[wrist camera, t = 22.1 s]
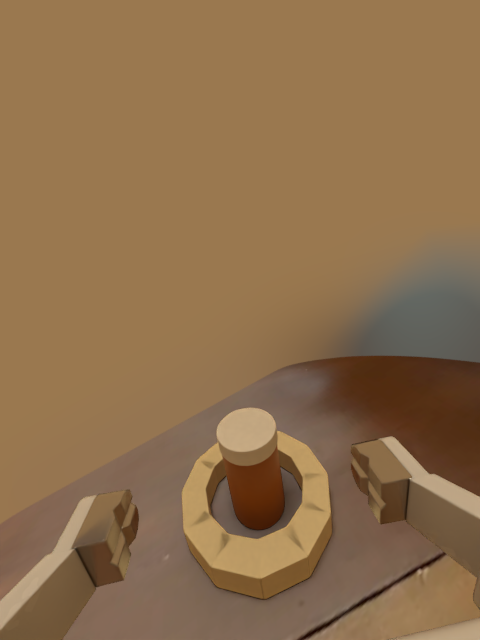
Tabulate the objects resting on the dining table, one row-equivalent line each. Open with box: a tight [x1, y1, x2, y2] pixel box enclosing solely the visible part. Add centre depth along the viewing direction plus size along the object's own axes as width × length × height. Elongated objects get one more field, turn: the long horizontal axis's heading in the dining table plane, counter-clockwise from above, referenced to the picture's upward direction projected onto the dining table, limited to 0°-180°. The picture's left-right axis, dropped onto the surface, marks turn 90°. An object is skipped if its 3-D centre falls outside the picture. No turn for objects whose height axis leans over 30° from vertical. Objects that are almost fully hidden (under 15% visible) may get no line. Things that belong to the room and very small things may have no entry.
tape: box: [182, 431, 332, 599], centre depth 24 cm, size 14×14×2 cm
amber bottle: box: [216, 408, 285, 530], centre depth 23 cm, size 5×5×9 cm
